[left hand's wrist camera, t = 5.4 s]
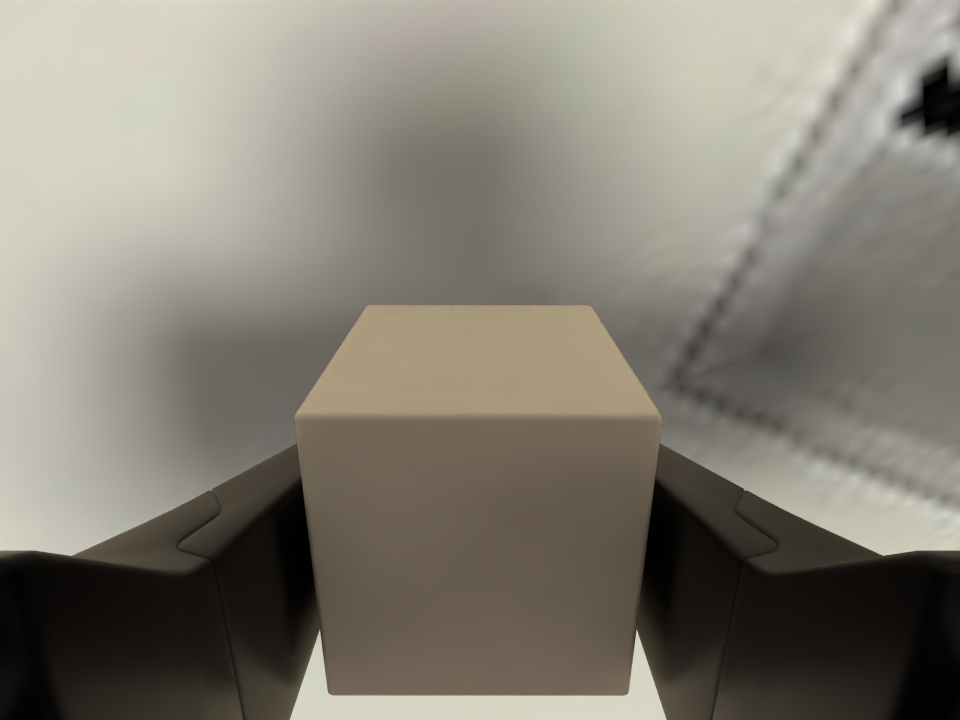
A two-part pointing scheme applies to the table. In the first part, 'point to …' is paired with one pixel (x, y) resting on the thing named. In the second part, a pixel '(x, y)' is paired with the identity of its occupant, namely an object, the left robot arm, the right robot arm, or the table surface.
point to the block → (478, 502)
